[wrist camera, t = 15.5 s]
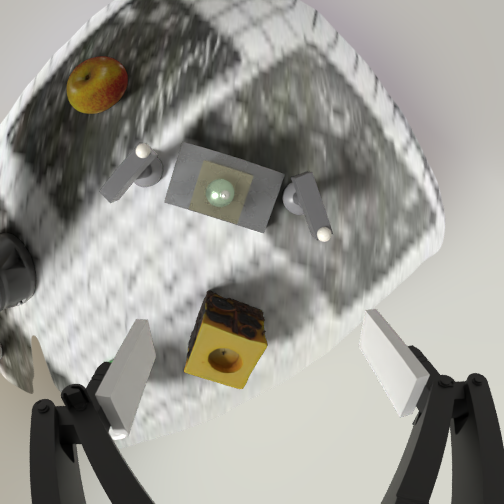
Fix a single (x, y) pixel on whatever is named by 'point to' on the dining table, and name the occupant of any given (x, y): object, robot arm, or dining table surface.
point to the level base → (254, 195)
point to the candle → (226, 341)
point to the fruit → (96, 84)
